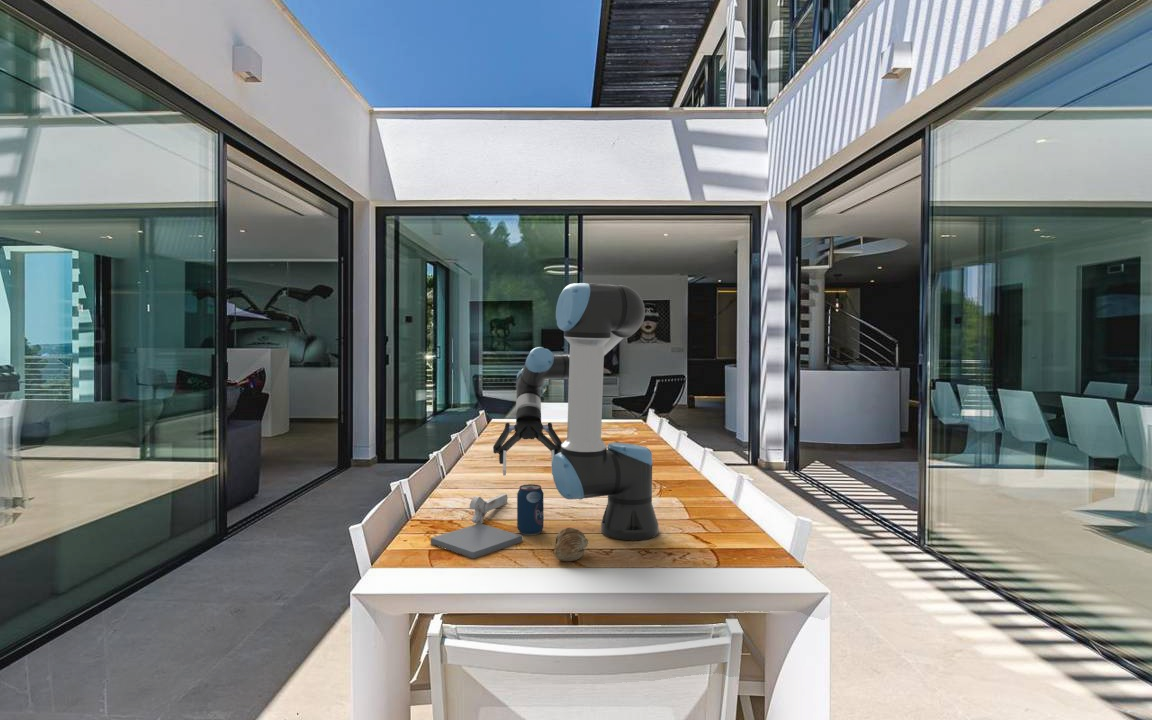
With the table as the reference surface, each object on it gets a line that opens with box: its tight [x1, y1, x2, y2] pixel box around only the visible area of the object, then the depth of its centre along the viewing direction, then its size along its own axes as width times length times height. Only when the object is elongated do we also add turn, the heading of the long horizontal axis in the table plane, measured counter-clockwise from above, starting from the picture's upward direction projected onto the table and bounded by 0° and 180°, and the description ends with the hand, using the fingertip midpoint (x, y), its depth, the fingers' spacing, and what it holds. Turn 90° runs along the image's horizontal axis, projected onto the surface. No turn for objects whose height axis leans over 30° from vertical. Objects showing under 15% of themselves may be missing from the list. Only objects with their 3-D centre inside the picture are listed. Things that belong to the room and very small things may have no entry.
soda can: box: [516, 483, 545, 536], centre depth 162 cm, size 7×7×12 cm
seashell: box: [553, 527, 590, 562], centre depth 143 cm, size 9×7×8 cm
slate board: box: [430, 523, 523, 559], centre depth 153 cm, size 16×16×2 cm
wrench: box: [469, 493, 509, 525], centre depth 178 cm, size 8×2×30 cm
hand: (528, 472), depth 171 cm, fingers open, 13 cm apart
